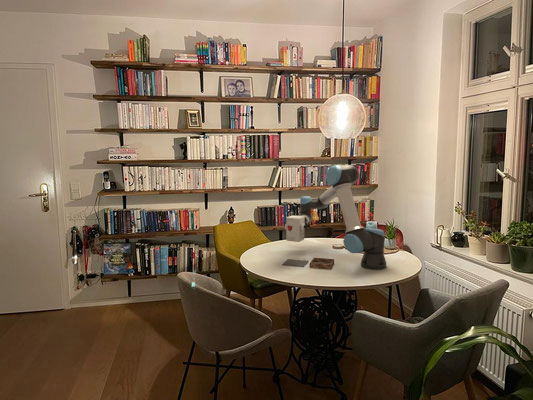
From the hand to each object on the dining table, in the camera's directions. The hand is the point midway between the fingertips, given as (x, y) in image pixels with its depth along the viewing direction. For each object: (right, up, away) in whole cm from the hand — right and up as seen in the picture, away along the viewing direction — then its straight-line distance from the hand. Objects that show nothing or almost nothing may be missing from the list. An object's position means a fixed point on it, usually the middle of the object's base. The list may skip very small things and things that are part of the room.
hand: (293, 227), depth 230 cm
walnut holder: (+18, -24, +1) cm, 30 cm away
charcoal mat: (+2, -23, +7) cm, 24 cm away
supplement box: (+2, -9, +5) cm, 10 cm away
